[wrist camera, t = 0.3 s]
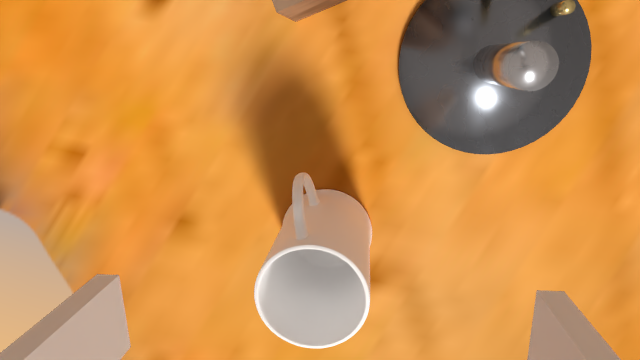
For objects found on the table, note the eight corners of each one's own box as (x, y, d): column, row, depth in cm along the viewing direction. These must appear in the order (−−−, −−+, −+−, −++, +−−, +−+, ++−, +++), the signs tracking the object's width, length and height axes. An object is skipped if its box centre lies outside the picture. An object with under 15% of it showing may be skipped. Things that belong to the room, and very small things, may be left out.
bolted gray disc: (534, 177, 38) (586, 215, 29) (372, 118, 38) (373, 137, 29) (625, 1, 33) (721, -19, 24) (442, -65, 33) (470, -110, 24)
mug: (272, 158, 40) (234, 199, 28) (365, 150, 39) (364, 190, 27) (288, 273, 43) (259, 353, 31) (375, 270, 42) (378, 350, 30)
